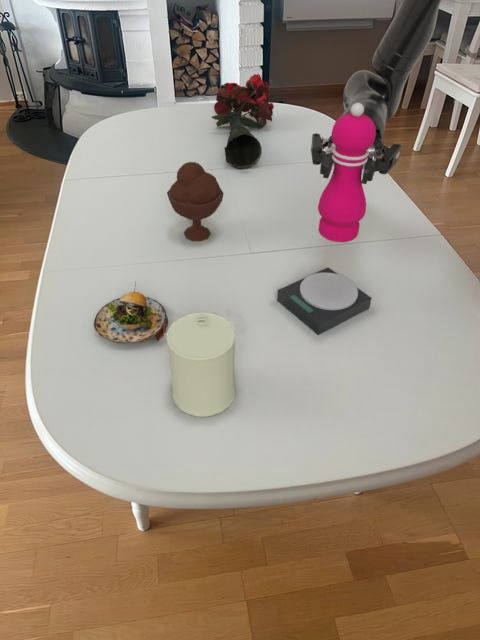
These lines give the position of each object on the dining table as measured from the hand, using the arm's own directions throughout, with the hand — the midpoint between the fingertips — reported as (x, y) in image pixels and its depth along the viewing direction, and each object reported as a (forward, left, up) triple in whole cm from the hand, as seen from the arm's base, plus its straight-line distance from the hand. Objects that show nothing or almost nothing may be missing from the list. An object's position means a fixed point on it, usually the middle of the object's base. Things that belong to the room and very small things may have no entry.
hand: (345, 174), depth 73 cm
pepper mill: (-2, -2, -11) cm, 12 cm away
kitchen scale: (-1, -2, -25) cm, 25 cm away
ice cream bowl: (+5, -34, -26) cm, 43 cm away
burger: (+29, -16, -26) cm, 42 cm away
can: (+27, +3, -26) cm, 37 cm away
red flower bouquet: (-31, -67, -26) cm, 78 cm away
